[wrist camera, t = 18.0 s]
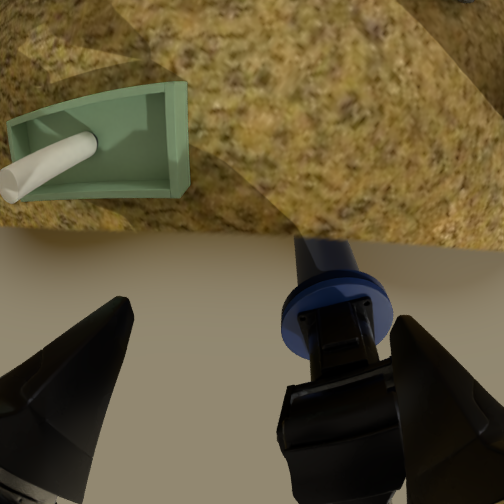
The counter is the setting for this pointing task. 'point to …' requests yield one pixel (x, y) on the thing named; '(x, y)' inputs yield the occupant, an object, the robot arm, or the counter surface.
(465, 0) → the tablet
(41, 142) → the tray
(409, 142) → the counter surface
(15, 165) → the stylus
